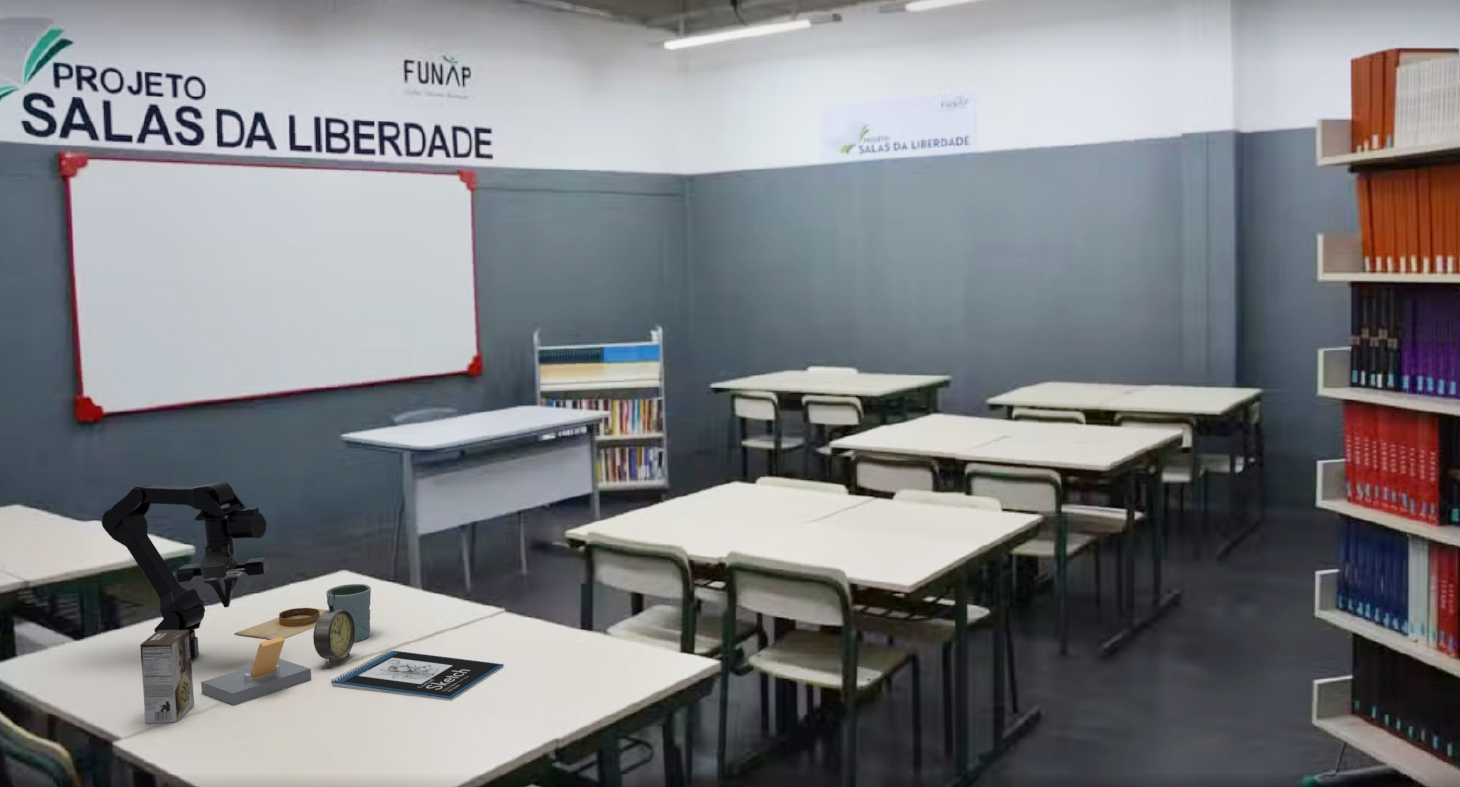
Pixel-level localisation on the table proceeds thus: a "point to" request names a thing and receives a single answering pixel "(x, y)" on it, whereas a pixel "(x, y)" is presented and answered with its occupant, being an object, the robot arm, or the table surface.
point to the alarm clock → (334, 633)
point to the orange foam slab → (267, 657)
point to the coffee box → (167, 676)
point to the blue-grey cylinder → (354, 606)
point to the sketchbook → (417, 675)
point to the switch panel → (254, 683)
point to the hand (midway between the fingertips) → (226, 607)
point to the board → (285, 624)
